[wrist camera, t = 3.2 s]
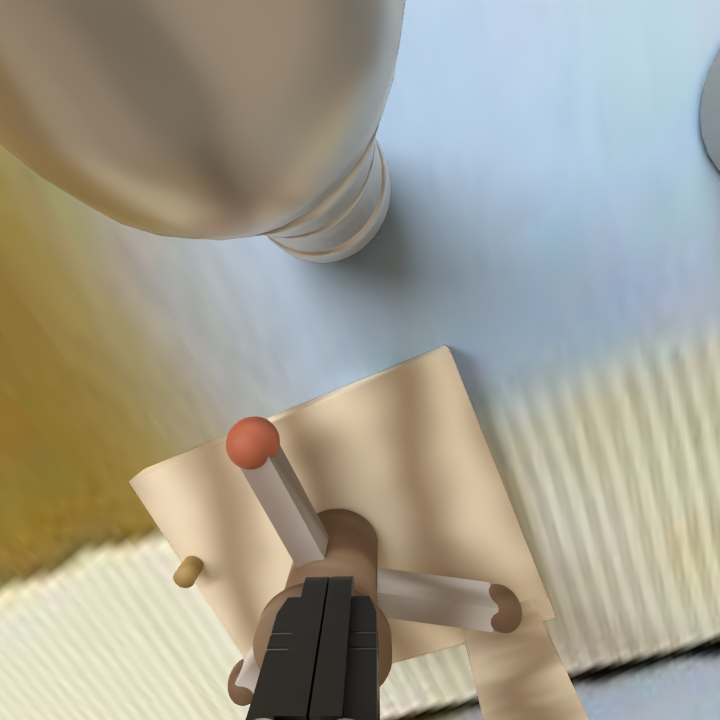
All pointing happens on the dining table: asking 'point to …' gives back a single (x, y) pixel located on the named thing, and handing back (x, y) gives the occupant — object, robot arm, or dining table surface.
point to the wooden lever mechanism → (376, 523)
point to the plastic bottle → (208, 113)
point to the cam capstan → (347, 561)
